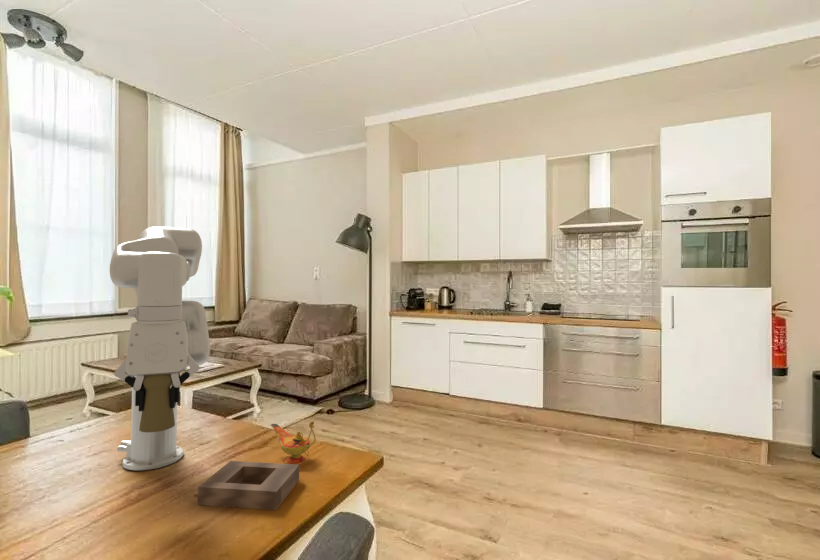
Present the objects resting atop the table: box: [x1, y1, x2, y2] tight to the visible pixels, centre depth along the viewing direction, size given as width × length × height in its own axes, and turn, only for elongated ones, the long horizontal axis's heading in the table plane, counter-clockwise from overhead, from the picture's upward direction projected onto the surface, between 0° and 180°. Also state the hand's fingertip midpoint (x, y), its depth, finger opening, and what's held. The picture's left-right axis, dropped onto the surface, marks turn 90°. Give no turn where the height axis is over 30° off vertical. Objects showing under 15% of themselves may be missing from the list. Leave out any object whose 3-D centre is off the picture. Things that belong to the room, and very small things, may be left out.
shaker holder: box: [197, 460, 300, 511], centre depth 85 cm, size 16×12×4 cm
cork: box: [139, 374, 175, 432], centre depth 80 cm, size 6×6×11 cm
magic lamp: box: [270, 420, 317, 465], centre depth 102 cm, size 7×18×11 cm, turn 52°
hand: (157, 406), depth 80 cm, fingers closed on cork, 4 cm apart
